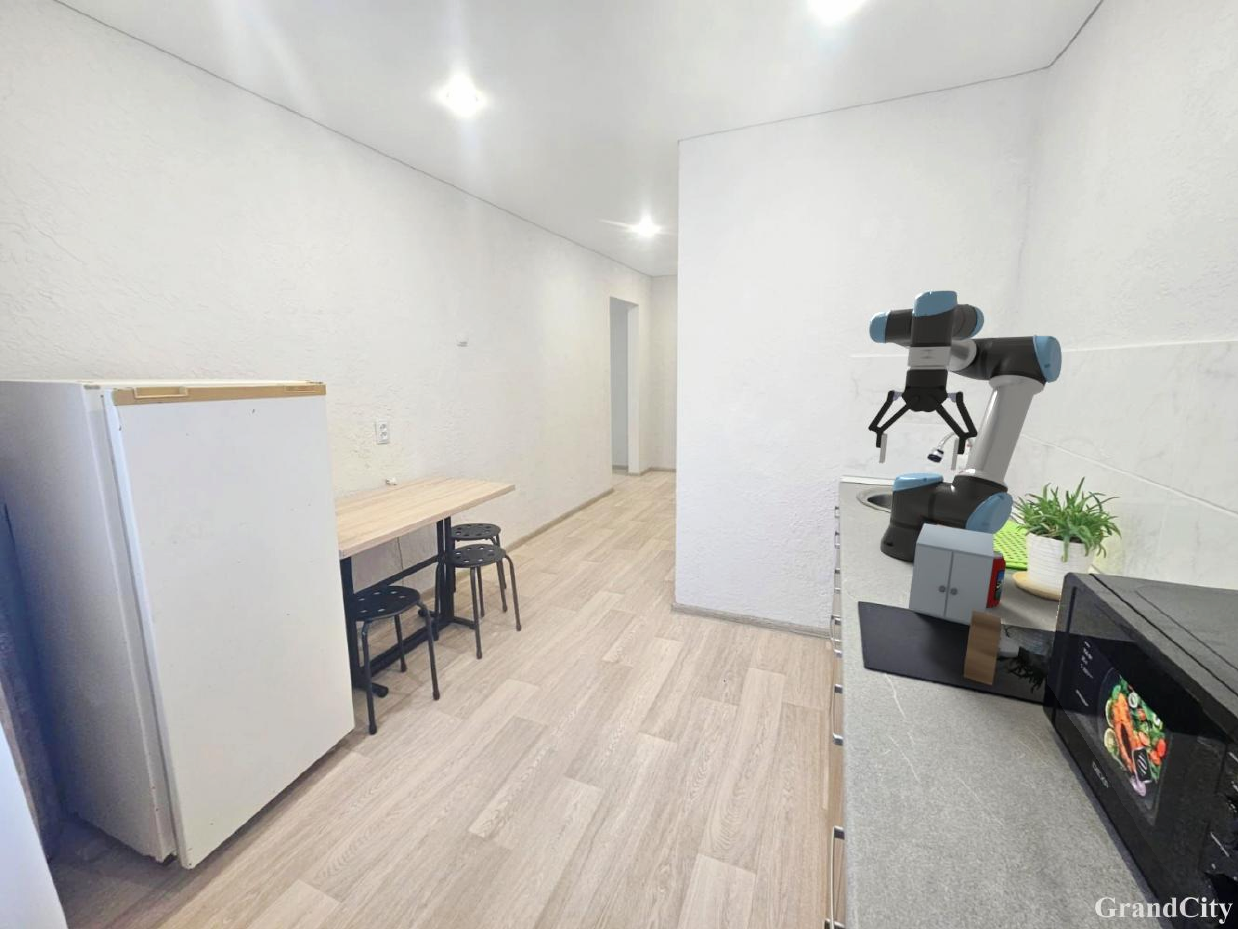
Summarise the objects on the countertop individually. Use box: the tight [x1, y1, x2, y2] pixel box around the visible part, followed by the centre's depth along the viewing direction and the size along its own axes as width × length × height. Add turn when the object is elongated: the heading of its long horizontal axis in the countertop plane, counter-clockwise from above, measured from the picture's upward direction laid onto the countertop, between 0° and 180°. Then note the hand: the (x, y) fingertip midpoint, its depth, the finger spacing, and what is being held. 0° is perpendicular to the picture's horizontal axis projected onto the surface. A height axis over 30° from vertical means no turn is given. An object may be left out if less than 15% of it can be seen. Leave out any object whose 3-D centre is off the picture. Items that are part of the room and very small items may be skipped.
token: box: [997, 634, 1020, 658], centre depth 93 cm, size 5×5×2 cm
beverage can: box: [986, 549, 1007, 608], centre depth 110 cm, size 7×7×12 cm
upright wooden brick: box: [963, 610, 1002, 686], centre depth 90 cm, size 17×4×11 cm, turn 144°
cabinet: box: [908, 523, 995, 627], centre depth 98 cm, size 15×12×20 cm
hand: (916, 465), depth 108 cm, fingers open, 13 cm apart
